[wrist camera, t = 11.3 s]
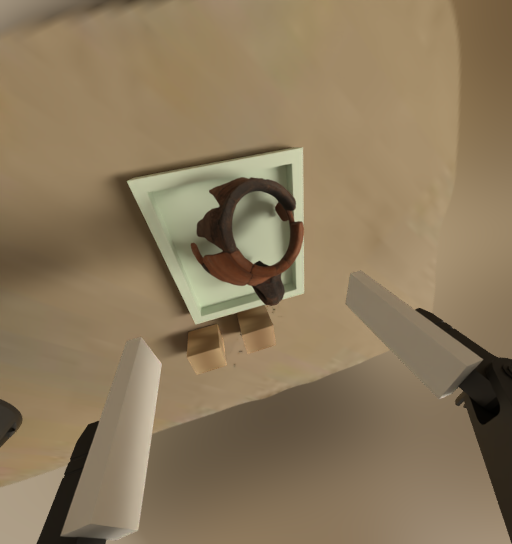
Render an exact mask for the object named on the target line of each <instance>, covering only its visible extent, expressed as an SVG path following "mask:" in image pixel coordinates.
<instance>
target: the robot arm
mask: <svg viewBox="0 0 512 544" xmlns="http://www.w3.org/2000/svg"><path fill="white" fill-rule="evenodd" d="M346 305H347V306H348V307H349V308H350V309H351V310H352V311H353V312H354V313H355V314H356V315H357V316H358V317H359V318H360V319H361V320H362V321H363V322H364V323H365V324H366V325H367V326H368V328H369V329H370V330H371V331H372V332H373V333H374V334H375V335H376V336H377V337H378V338H379V339H380V340H381V341H382V342H383V343H384V344H385V345H386V346H387V347H388V348H389V349H390V350H391V351H392V352H393V353H394V354H395V355H396V356H397V357H398V358H399V359H400V360H401V361H402V362H403V363H404V364H405V365H406V366H407V367H408V368H409V369H410V370H411V371H412V372H413V373H414V374H415V375H416V376H417V377H418V378H419V379H420V381H422V383H424V385H425V386H426V387H427V388H428V389H429V390H430V391H431V392H432V393H433V394H434V395H435V396H436V397H437V398H438V399H440V398H443V397H445V396H447V395H450V394H452V393H453V392H454V391H455V390H456V389H457V388H458V387H460V388H461V389H462V390H463V392H462V393H461V394H460V395H459V396H458V397H457V399H456V401H455V402H456V405H457V406H459V405H460V404H461V403H462V402H465V404H464V408H467V410H468V414H469V417H470V420H471V423H472V426H473V429H474V432H475V435H476V438H477V441H478V444H479V447H480V450H481V453H482V456H483V459H484V462H485V465H486V468H487V471H488V474H489V477H490V479H491V483H492V486H493V488H494V492H495V495H496V498H497V501H498V504H499V507H500V510H501V513H502V516H503V519H504V522H505V525H506V528H507V531H508V534H509V537H510V540H511V543H512V359H508V358H498V357H496V356H494V355H492V354H491V353H489V352H488V351H486V350H485V349H483V348H482V347H480V346H479V345H477V344H476V343H474V342H473V341H471V340H470V339H469V338H467V337H466V336H464V335H463V334H461V333H460V332H459V331H457V330H456V329H453V328H452V327H451V326H450V325H448V324H447V323H444V322H443V320H441V319H440V318H438V317H437V316H435V315H434V314H432V313H430V312H428V311H426V310H423V309H421V308H418V309H415V310H414V309H413V308H412V307H410V306H409V305H408V304H406V303H405V302H403V301H402V300H401V299H399V298H398V297H397V296H395V295H394V294H392V293H391V292H390V291H388V290H387V289H386V288H384V287H383V286H381V285H380V284H379V283H377V282H376V281H375V280H373V279H372V278H370V277H369V276H368V275H366V274H365V273H364V272H362V271H361V270H360V271H357V272H353V273H350V278H349V285H348V291H347V298H346ZM161 366H162V364H161V362H160V361H159V360H158V358H157V357H156V356H155V354H154V353H153V352H152V350H151V349H150V348H149V346H148V345H147V344H146V342H145V341H144V340H143V338H142V337H138V338H135V339H132V340H129V341H127V342H126V345H125V348H124V350H123V353H122V356H121V359H120V362H119V365H118V368H117V371H116V374H115V377H114V380H113V383H112V386H111V389H110V392H109V395H108V397H107V400H106V403H105V406H104V409H103V412H102V415H101V418H100V421H97V422H94V423H91V424H88V426H87V427H86V429H85V430H84V432H83V433H82V435H81V436H80V438H79V439H78V441H77V443H76V445H75V448H74V451H73V453H72V456H71V458H70V460H71V461H70V462H69V463H68V466H67V468H66V471H65V473H64V475H65V476H64V478H63V479H62V481H61V484H60V486H59V489H58V491H57V494H56V497H55V499H54V501H53V504H52V506H51V509H50V512H49V514H48V517H47V519H46V522H45V524H44V527H43V530H42V532H41V534H40V537H39V540H38V542H37V544H105V543H106V540H117V539H120V538H122V537H124V536H127V535H129V534H131V533H133V532H136V531H138V527H139V521H140V514H141V507H142V499H143V493H144V486H145V479H146V471H147V464H148V457H149V450H150V443H151V436H152V429H153V422H154V415H155V408H156V401H157V394H158V387H159V380H160V373H161ZM21 424H22V415H21V413H20V412H19V411H18V410H17V409H16V408H15V407H14V406H12V405H11V404H9V403H7V402H5V401H3V400H1V399H0V447H1V446H2V445H3V444H4V443H5V442H6V441H7V440H8V439H9V438H10V437H11V436H12V435H13V434H14V433H15V432H16V431H17V430H18V429H19V427H20V426H21Z"/></svg>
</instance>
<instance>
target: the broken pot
mask: <svg viewBox="0 0 512 544" xmlns="http://www.w3.org/2000/svg"><path fill="white" fill-rule="evenodd" d="M255 191H261V192H265V193H268V194H270V195H272V196H273V197H275V198H276V199H277V201H278V203H277V205H276V207H275V210H276V212H277V214H278V216H279V217H280V219H281V220H282V221H287V220H289V225H290V241H289V246H288V249H287V251H286V253H285V255H284V256H283V257H282V259H281V260H280V261H279V262H277V263H276V264H274V265H272V266H268V265H266V264H264V263H262V262H261V261H258V262H256V263H254V264H253V263H252V262H250V261H249V260H247V259H246V258H245V257H244V256H243V254H242V253H241V252H240V250H239V249H238V248H237V247H236V243H235V240H234V237H233V232H232V220H233V214H234V211H235V208H236V205H237V204H238V202H239V201H240V200H241V199H242V198H243V197H244V196H245V195H246V194H248V193H251V192H255ZM209 193H210V194H212V195H213V196H214V198H215V199H216V200H217V202H218V204H219V207H218V208H213V209H211V210H210V211H208V212H207V213H206V214H205V216H204V218H203V219H202V220H200V221H198V223H197V231H196V232H197V236H198V237H203V238H206V239H207V240H208V241H209V242H211V243H213V244H215V245H216V246H217V247H219V248H220V249H221V250H223V251H222V252H220V253H217V254H214V255H205V256H204V257H202V255H201V254H200V252H199V249H198V247H197V245H196V244H195V243H191V249H192V252H193V254H194V256H195V257H196V259H197V261H198V262H199V263H200V264H201V266H202V267H203V268H204V270H205V271H207V272H208V273H209V274H211V275H212V276H214V277H215V278H217V279H218V280H220V281H223V282H227V283H230V284H233V285H237V286H245V285H246V284H247V285H249V286H252V287H253V289H254V291H255V293H256V294H257V296H258V297H259V298H260V300H261V301H262V302H263V303H264V304H266V305H270V306H273V305H277V304H278V303H279V302H280V301H281V300H282V299H283V296H284V293H285V290H284V285H283V283H282V280H281V274H282V273H283V272H284V271H286V270H287V269H288V268H290V266H291V265H292V264H293V263H294V261H295V260H296V258H297V256H298V255H299V252H300V250H301V247H302V242H303V236H304V226H303V222H302V221H297V222H295V221H294V217H293V214H292V211H294V210H295V209H296V200H295V198H294V197H293V196H292V194H291V193H290V192H289V191H288V190H286V189H285V188H284V187H283V186H282V185H281V184H279V183H277V182H276V181H273V180H269V179H266V180H265V179H263V178H252V177H251V178H249V179H248V178H245V177H241V178H237V179H235V180H232V181H230V182H228V183H225V184H222V185H220V186H216V187H214V188H212V189H211V190H209Z"/></svg>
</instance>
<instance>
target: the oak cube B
mask: <svg viewBox="0 0 512 544" xmlns="http://www.w3.org/2000/svg"><path fill="white" fill-rule="evenodd" d="M237 317H238V321H239V325H240V330H241V334H242V337H243V341H244V344H245V347H246V350H247V353H248V354H250V353H253V352H256V351H259V350H262V349H265V348H268V347H271V346H274V345H276V340H275V334H274V328H273V324H272V322H271V319H270V317H269V315H268V312H267V310H266V308H265V305H262V306H258V307H255V308H251V309H248V310H244V311H241V312H238V313H237Z"/></svg>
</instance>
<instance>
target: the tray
mask: <svg viewBox="0 0 512 544" xmlns="http://www.w3.org/2000/svg"><path fill="white" fill-rule="evenodd" d="M241 177H245V178H248V179H249V178H251V177H252V178H263V179H265V180H266V179H269V180H273V181H276V182H277V183H279V184H281V185H282V186H283V187H284V188H285V189H286V190H288V191H289V192H290V193H291V194H292V196H293V197H294V198H295V200H296V209H295V210H294V211H292V214H293V217H294V221H295V222H297V221H302V222H303V226H304V218H303V148H288V149H283V150H278V151H272V152H267V153H262V154H256V155H251V156H246V157H241V158H235V159H230V160H225V161H219V162H214V163H209V164H204V165H198V166H193V167H188V168H182V169H177V170H172V171H166V172H161V173H156V174H151V175H145V176H140V177H135V178H132V179H130V180H128V181H127V183H128V185H129V187H130V189H131V191H132V193H133V195H134V197H135V199H136V201H137V203H138V206H139V208H140V210H141V212H142V214H143V216H144V218H145V220H146V222H147V224H148V226H149V228H150V231H151V233H152V235H153V237H154V239H155V241H156V243H157V245H158V247H159V249H160V251H161V253H162V256H163V258H164V260H165V262H166V264H167V266H168V268H169V270H170V272H171V274H172V276H173V278H174V281H175V283H176V285H177V287H178V289H179V291H180V293H181V295H182V297H183V299H184V301H185V303H186V305H187V308H188V310H189V312H190V314H191V316H192V318H193V320H194V322H195V324H199V323H203V322H206V321H210V320H213V319H216V318H220V317H223V316H227V315H230V314H234V313H237V312H241V311H244V310H248V309H251V308H255V307H258V306H262V305H265V304H264V303H263V302H262V301H261V300H260V298H259V297H258V296H257V294H256V293H255V291H254V289H253V287H252V286H249V285H247V284H246V285H245V286H237V285H233V284H230V283H227V282H223V281H220V280H218V279H217V278H215V277H214V276H212V275H211V274H209V273H208V272H207V271H205V270H204V268H203V267H202V266H201V264H200V263H199V262H198V261H197V259H196V257H195V256H194V254H193V252H192V249H191V243H195V244H196V245H197V247H198V249H199V252H200V254H201V255H202V257H204V256H205V255H214V254H217V253H220V252H222V251H223V250H221V249H220V248H219V247H217V246H216V245H215V244H213V243H211V242H209V241H208V240H207V239H206V238H203V237H198V236H197V232H196V231H197V223H198V221H200V220H202V219H203V218H204V216H205V214H206V213H207V212H208V211H210V210H211V209H213V208H218V207H219V204H218V202H217V200H216V199H215V198H214V196H213V195H212V194H210V193H209V190H211V189H212V188H214V187H216V186H220V185H222V184H225V183H228V182H230V181H232V180H235V179H237V178H241ZM277 203H278V201H277V199H276V198H275V197H273V196H272V195H270V194H268V193H265V192H261V191H255V192H251V193H248V194H246V195H245V196H244V197H243V198H242V199H241V200H240V201H239V202H238V204H237V205H236V208H235V211H234V214H233V220H232V232H233V237H234V240H235V243H236V247H237V248H238V249H239V250H240V252H241V253H242V254H243V256H244V257H245V258H246V259H247V260H249V261H250V262H252V263H253V264H254V263H256V262H258V261H261V262H262V263H264V264H266V265H268V266H272V265H274V264H276V263H277V262H279V261H280V260H281V259H282V257H283V256H284V255H285V253H286V251H287V249H288V246H289V241H290V225H289V220H287V221H282V220H281V219H280V217H279V216H278V214H277V212H276V210H275V207H276V205H277ZM281 280H282V283H283V285H284V290H285V293H284V296H283V299H286V298H289V297H293V296H296V295H300V294H303V293H304V236H303V242H302V247H301V250H300V252H299V255H298V256H297V258H296V260H295V261H294V263H293V264H292V265H291V266H290V268H288V269H287V270H286V271H284V272H283V273H282V274H281Z"/></svg>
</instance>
